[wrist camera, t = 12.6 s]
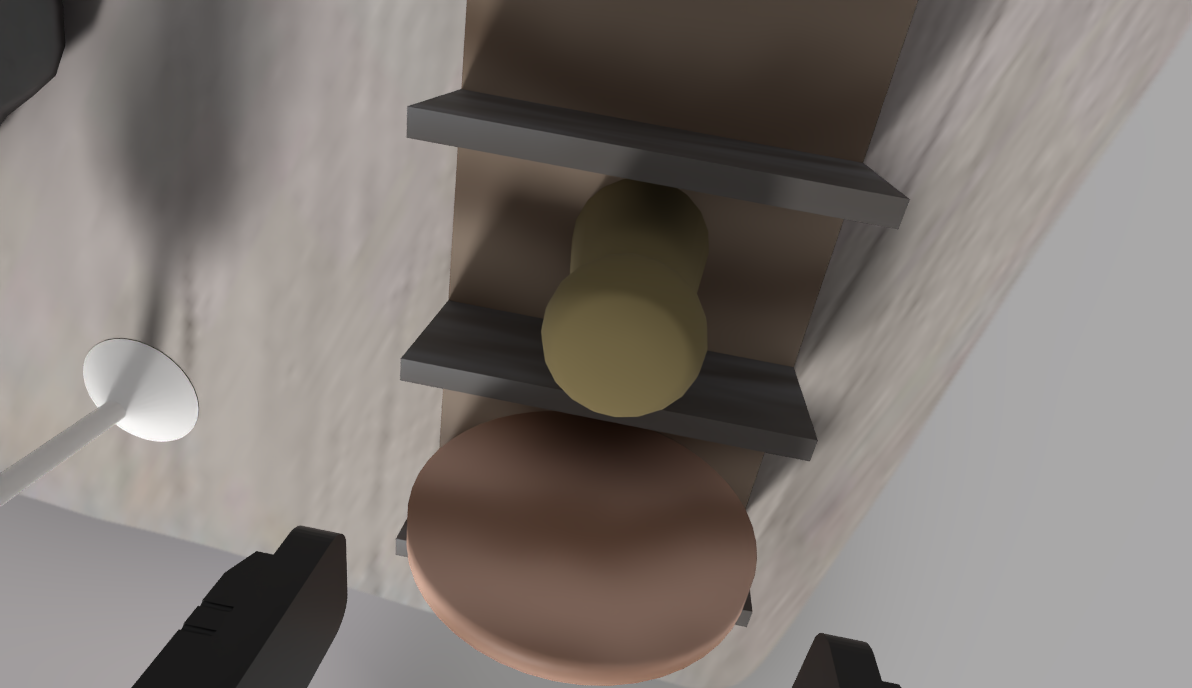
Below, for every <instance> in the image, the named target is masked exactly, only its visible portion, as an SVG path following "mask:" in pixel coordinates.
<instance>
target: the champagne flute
mask: <svg viewBox="0 0 1192 688" xmlns="http://www.w3.org/2000/svg"><path fill="white" fill-rule="evenodd" d="M83 377H84V381H85V386H86V388H87V390H88V393H89V395H90V397H91V398H92V400H93V401H94V403H95V405H96V406H97V407H98V408H97V409H95V410H94V411H92V412H91V413H89V414H88V415H86V416H85V417H84V418H82V419H81V420H79V421H78V422H76V423H75V424H73V425H72V426H70V427H69V428H67V429H66V430H64V431H63V432H61V433H60V434H58V435H57V436H55V437H54V438H52V439H51V440H49V441H48V442H46V443H45V444H43V445H42V446H40V447H39V448H37V449H36V450H34V451H33V452H31V453H30V454H28V455H27V456H25V457H24V458H22V459H21V460H19V461H18V462H16V463H15V464H13V465H12V466H10V467H9V468H7V469H6V470H4V471H3V472H1V473H0V507H1V506H2V505H3V504H5V503H6V502H8V501H9V500H10V499H12V498H13V497H15V496H16V495H17V494H19V493H20V492H21V491H23V490H24V489H26V488H27V487H28V486H30V485H31V484H33V483H34V482H35V481H37V480H38V479H40V478H41V477H42V476H44V475H45V474H47V473H48V472H49V471H51V470H52V469H53V468H55V467H56V466H58V465H59V464H60V463H62V462H63V461H65V460H66V459H67V458H69V457H70V456H72V455H73V454H74V453H76V452H77V451H79V450H80V449H81V448H83V447H84V446H86V445H87V444H88V443H90V442H91V441H92V440H94V439H95V438H97V437H98V436H99V435H101V434H102V433H104V432H105V431H106V430H108V429H109V428H111V427H112V426H113V425H115V424H116V425H117V426H118V427H120V428H121V429H123V430H125V431H127V432H128V433H130V434H132V435H135V436H137V437H140V438H143V439H147V440H152V441H162V442H166V441H173V440H176V439H179V438H182V437H184V436H185V435H186V434H188V433H189V432H190V431H191V430H192V428H193V427H194V426H195V423H196V421H197V418H198V409H199V408H198V401H197V397H196V394H195V391H194V388H193V387H192V385H191V383H190V381H189V379H188V378H187V377H186V375H185V374H184V373H183V371H182V370H181V369H180V368H179V367H178V366H177V365H176V364H175V363H174V362H173V361H172V360H171V359H169V358H168V357H167V356H165V355H164V354H163V353H161V352H160V351H158V350H156V349H154V348H152V347H150V346H148V345H146V344H143V343H140V342H138V341H133V340H128V339H112V340H107V341H103V342H101V343H99V344H97V345H96V346H95V347H93V348H92V349H91V350H90V351H89V353H88V355H87V356H86V358H85V362H84V365H83Z"/></svg>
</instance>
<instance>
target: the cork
mask: <svg viewBox="0 0 1192 688" xmlns="http://www.w3.org/2000/svg"><path fill="white" fill-rule="evenodd" d="M708 254H709V237H708V229H707V227H706V224H705V221H704V218H703V216H702V213H701V211H700V210H699V209H698V207H697V206H696V205H695V204H694V202H693V201H692V200H691V199H690V197H689V196H688V195H687V194H685V193H684V192H682V191H681V190H679V189H678V188H674V187H669V186H664V185H658V184H653V183H648V182H642V181H637V180H632V179H622V180H620V181H617V182H615V183H612V184H610V185H607V186H605V187H603V188H602V189H601V190H600V191H598V192H597V193H596V194H595V195H594V196H593V197H591V198H590V199H589V200H588V201H587V202H586V204H585V205H584V207H583V209H582V210H581V212H580V214H579V215H578V217H577V219H576V223H575V227H574V232H573V236H572V245H571V263H570V275H569V276H567V277H566V278H565V279H564V280H562V282H561V283H560V285H559V286H558V288H557V290H556V291H555V293H554V295H553V296H552V298H551V299H550V301H549V303H548V305H547V307H546V310H545V315H544V320H543V324H542V329H541V335H542V343H543V350H544V357H545V362H546V364H547V366H548V368H549V370H550V372H551V374H552V376H553V378H554V380H555V382H556V383H557V384H558V385H559V386H560V387H561V388H562V389H563V390H564V391H565V392H566V393H567V394H568V395H569V397H570V398H571V399H573V400H574V401H576V402H578V403H579V404H581V405H583V406H585V407H587V408H588V409H590V410H592V411H594V412H597V413H601V414H605V415H609V416H613V417H638V416H642V415H645V414H649V413H652V412H655V411H659V410H662V409H664V408H666V407H667V406H669V405H670V404H672V403H673V402H675V401H676V400H678V399H679V398H681V397H682V396H683V395H684V394H685V392H686V391H687V390H688V389H689V387H690V386H691V385H692V384H693V382H694V381H695V380H696V378H697V376H698V374H699V372H700V370H701V367H702V364H703V361H704V358H705V355H706V352H707V350H708V345H707V321H706V316H705V313H704V311H703V308H702V306H701V303H700V300H699V298H698V295H697V291H698V288H699V285H700V281H701V278H702V274H703V271H704V268H705V264H706V261H707V257H708Z"/></svg>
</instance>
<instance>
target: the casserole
mask: <svg viewBox="0 0 1192 688" xmlns="http://www.w3.org/2000/svg"><path fill="white" fill-rule="evenodd" d="M64 47H65V34H64V17H63V4H62V0H0V125H1V123H2V122H3V120H4V119H5V118H6V116H7V115H9V114H10V113H11V112H13V111H14V110H15V109H17V108H18V107H19V106H20V105H22V104H23V103H24V102H26V101H27V100H28V99H30V98H31V97H32V96H33V95H35V94H36V93H37V92H38V91H39V90H40V89H41V88H42V87H43V86H44V85H46V84H47V83H48V82H49V81H50V80H51V79H52V78H53V77H54V76H56V73H57V70H58V66H59V63H60V60H61V57H62V54H63V50H64Z"/></svg>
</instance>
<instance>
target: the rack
mask: <svg viewBox="0 0 1192 688" xmlns="http://www.w3.org/2000/svg"><path fill="white" fill-rule="evenodd" d="M917 2H918V0H467V7H466V24H465V40H464V56H463V73H462V89H460V90H457V91H454V92H451V93H448V94H445V95H441V96H438V97H435V98H432V99H429V100H426V101H423V102H420V103H416V104H413V105H410V106H407V138H412V139H417V140H423V141H428V142H433V143H439V144H444V145H449V146H455V147H458V154H457V170H456V187H455V203H454V219H453V236H452V252H451V268H450V285H449V300H448V302H447V303H446V304H445V305H444V306H443V308H442V309H441V310H440V311H439V313H438V314H437V315H436V316H435V317H434V319H433V320H432V321H431V322H430V324H429V325H428V326H427V327H426V328H425V330H424V331H423V332H422V333H421V335H420V336H419V337H418V338H417V339H416V341H415V342H414V343H413V344H412V346H411V347H410V348H409V349H408V350H407V352H406V353H405V354H404V355H403V356H402V358H401V371H400V380H401V381H407V382H412V383H417V384H422V385H427V386H432V387H437V388H442V389H443V399H442V415H441V431H440V448H439V450H438V451H437V452H436V453H435V454H434V455H433V456H432V457H431V458H430V459H429V460H428V461H427V463H426V464H425V466H424V467H423V468H422V470H421V471H420V473H419V474H418V477H417V479H416V481H415V483H414V485H413V487H412V491H411V495H410V499H409V503H408V517H407V520H406V521H405V523H404V525H403V527H402V529H401V531H400V532H399V534H398V536H397V538H396V555H399V556H404V557H408V560H409V564H410V567H411V571H412V574H413V577H414V580H415V582H416V584H417V586H418V588H419V590H420V591H421V593H422V595H423V597H424V599H425V600H426V602H427V603H428V604H429V606H430V607H431V608H432V610H433V611H434V612H435V614H436V615H437V616H438V618H439V619H441V621H442V622H444V623H445V624H446V625H447V626H448V627H449V628H450V629H451V630H452V631H453V632H454V633H455V634H456V635H457V636H458V637H460V638H461V639H463V640H464V641H465V642H467V643H468V644H469V645H471V646H472V647H473V648H475V649H476V650H478V651H480V652H482V653H483V654H485V655H487V656H489V657H490V658H492V659H494V660H496V661H497V662H499V663H501V664H504V665H506V666H509V667H512V668H514V669H516V670H519V671H521V672H524V673H526V674H530V675H534V676H537V677H541V678H545V679H548V680H552V681H559V682H564V683H572V684H579V685H600V686H612V685H622V684H632V683H639V682H643V681H647V680H651V679H656V678H660V677H663V676H666V675H668V674H671V673H673V672H676V671H678V670H681V669H684V668H685V667H687V666H689V665H691V664H692V663H694V662H696V661H697V660H699V659H701V658H703V657H704V656H705V655H706V654H708V653H709V652H710V651H711V650H713V649H714V648H715V647H716V646H717V645H719V644H720V643H721V641H722V640H723V639H724V638H725V637H726V636H727V634H728V633H729V632H730V631H731V630H732V628H733V626H734V625H739V626H744V627H747V625H748V622H749V620H750V617H751V614H752V604H751V596H750V587H751V584H752V582H753V579H754V576H755V570H756V562H757V549H756V540H755V535H754V531H753V527H752V524H751V522H750V519H749V517H748V514H747V512H746V510H745V509H746V506H747V503H748V500H749V497H750V494H751V491H752V488H753V485H754V482H755V479H756V476H757V473H758V470H759V467H760V464H761V462H762V459H763V456H764V453H770V454H776V455H781V456H786V457H791V458H796V459H801V460H806V461H810V460H811V457H812V454H813V452H814V449H815V446H816V444H817V441H818V440H817V437H816V434H815V431H814V428H813V425H812V422H811V419H810V416H809V413H808V410H807V406H806V403H805V400H804V397H803V394H802V391H801V388H800V385H799V382H798V379H797V376H796V373H795V370H794V364H795V361H796V358H797V356H798V353H799V350H800V347H801V344H802V341H803V338H804V335H805V332H806V329H807V326H808V323H809V320H810V317H811V314H812V311H813V308H814V306H815V303H816V300H817V297H818V294H819V291H820V288H821V285H822V282H823V279H824V276H825V273H826V270H827V267H828V264H829V261H830V258H831V255H832V253H833V250H834V247H835V244H836V241H837V238H838V235H839V232H840V229H841V226H842V223H843V220H844V219H846V220H851V221H857V222H862V223H867V224H873V225H878V226H883V227H889V228H894V229H899V226H900V224H901V221H902V218H903V216H904V213H905V210H906V208H907V205H908V203H909V200H910V199H909V198H907V197H906V196H905V195H904V194H902V193H901V192H900V191H898V190H897V189H896V188H895V187H893V186H892V185H891V184H889V183H888V182H887V181H886V180H884V179H883V178H882V177H880V176H879V175H878V174H877V173H875V172H874V171H873V170H871V169H870V168H869V167H868V166H866V165H865V164H864V163H863V161H864V158H865V155H866V152H867V149H868V147H869V144H870V141H871V138H872V135H873V132H874V129H875V126H876V123H877V120H878V117H879V114H880V111H881V108H882V105H883V102H884V99H885V96H886V94H887V91H888V88H889V85H890V82H891V79H892V76H893V73H894V70H895V67H896V64H897V61H898V58H899V55H900V52H901V49H902V46H903V44H904V41H905V38H906V35H907V32H908V29H909V26H910V23H911V20H912V17H913V14H914V11H915V8H916V5H917ZM622 179H632V180H637V181H642V182H648V183H653V184H658V185H664V186H669V187H674V188H678V189H679V190H681V191H682V192H684V193H685V194H687V195H688V196H689V197H690V199H691V200H692V201H693V202H694V204H695V205H696V206H697V207H698V209H699V210H700V211H701V213H702V216H703V218H704V221H705V224H706V227H707V229H708V237H709V254H708V257H707V261H706V264H705V268H704V271H703V274H702V278H701V281H700V285H699V288H698V291H697V295H698V298H699V300H700V303H701V306H702V308H703V311H704V313H705V316H706V321H707V345H708V350H707V352H706V355H705V358H704V361H703V364H702V367H701V370H700V372H699V374H698V376H697V378H696V380H695V381H694V382H693V384H692V385H691V386H690V387H689V389H688V390H687V391H686V392H685V394H684V395H683V396H682V397H681V398H679V399H678V400H676V401H675V402H673V403H672V404H670V405H669V406H667V407H666V408H664V409H662V410H659V411H655V412H652V413H649V414H645V415H642V416H638V417H613V416H609V415H605V414H601V413H597V412H594V411H592V410H590V409H588V408H587V407H585V406H583V405H581V404H579V403H578V402H576V401H574V400H573V399H571V398H570V397H569V395H568V394H567V393H566V392H565V391H564V390H563V389H562V388H561V387H560V386H559V385H558V384H557V383H556V382H555V380H554V378H553V376H552V374H551V372H550V370H549V368H548V366H547V364H546V362H545V357H544V350H543V343H542V335H541V329H542V324H543V320H544V315H545V310H546V307H547V305H548V303H549V301H550V299H551V298H552V296H553V295H554V293H555V291H556V290H557V288H558V286H559V285H560V283H561V282H562V280H564V279H565V278H566V277H567V276H569V275H570V263H571V245H572V236H573V232H574V227H575V223H576V219H577V217H578V215H579V214H580V212H581V210H582V209H583V207H584V205H585V204H586V202H587V201H588V200H589V199H590V198H591V197H593V196H594V195H595V194H596V193H597V192H598V191H600V190H601V189H602V188H603V187H605V186H607V185H610V184H612V183H615V182H617V181H620V180H622Z"/></svg>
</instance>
